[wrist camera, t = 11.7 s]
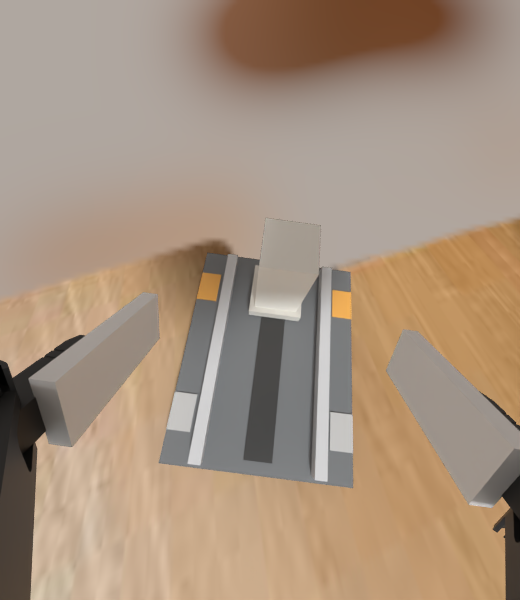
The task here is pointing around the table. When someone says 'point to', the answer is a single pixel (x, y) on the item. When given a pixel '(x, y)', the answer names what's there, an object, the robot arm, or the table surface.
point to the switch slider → (285, 269)
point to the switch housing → (265, 382)
